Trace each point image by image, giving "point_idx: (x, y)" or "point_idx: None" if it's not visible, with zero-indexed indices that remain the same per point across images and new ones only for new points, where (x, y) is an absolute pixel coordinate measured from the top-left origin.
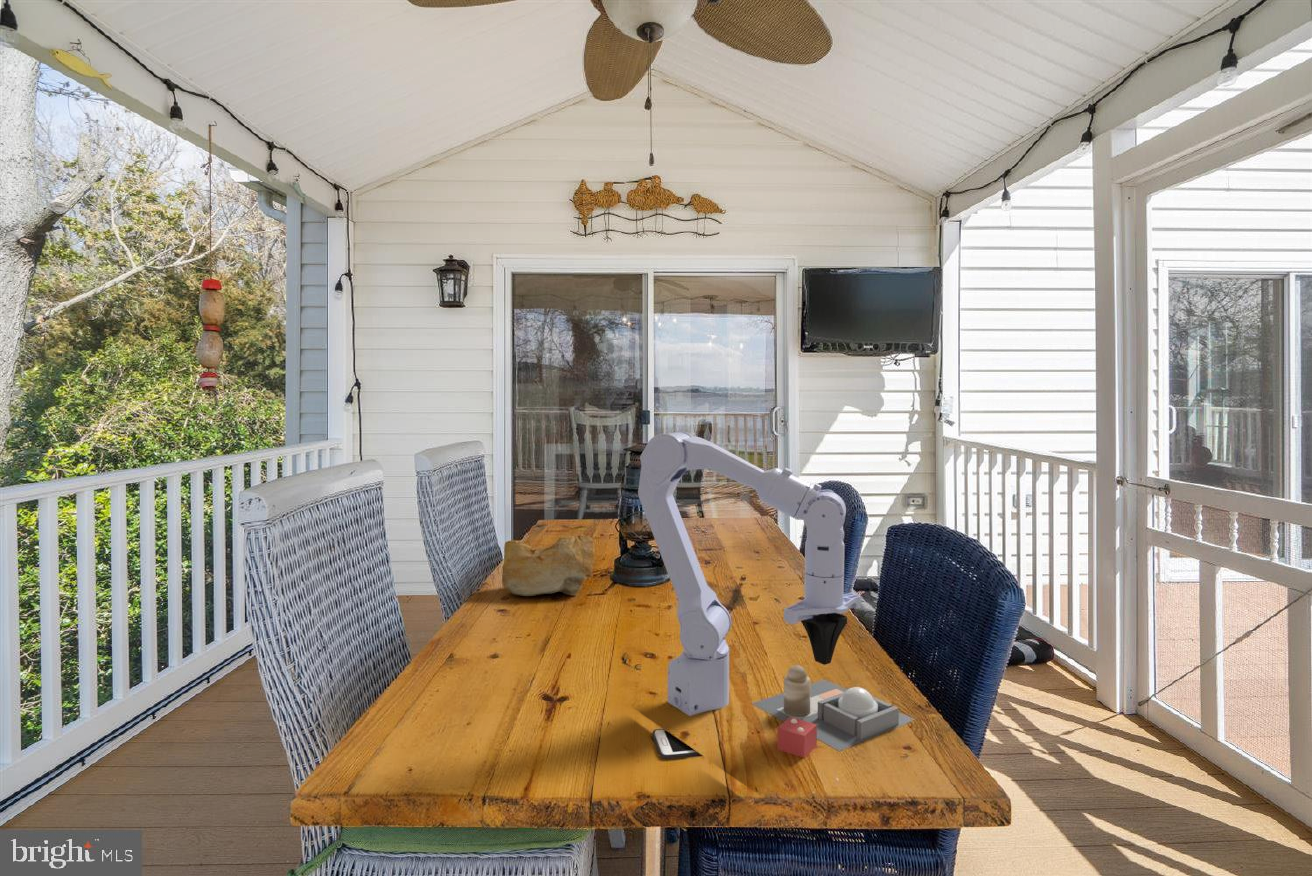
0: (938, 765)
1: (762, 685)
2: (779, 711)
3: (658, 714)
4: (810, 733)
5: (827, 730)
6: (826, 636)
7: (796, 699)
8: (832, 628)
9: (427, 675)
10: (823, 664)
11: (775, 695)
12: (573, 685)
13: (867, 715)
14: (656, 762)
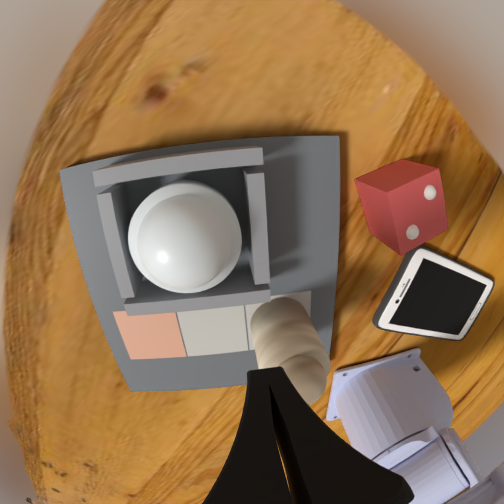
0: (163, 13)
1: (238, 416)
2: None
3: None
4: (410, 178)
5: (291, 222)
6: (345, 453)
7: (312, 326)
8: (330, 492)
9: None
10: (282, 369)
11: None
12: None
13: (198, 184)
14: (497, 277)
